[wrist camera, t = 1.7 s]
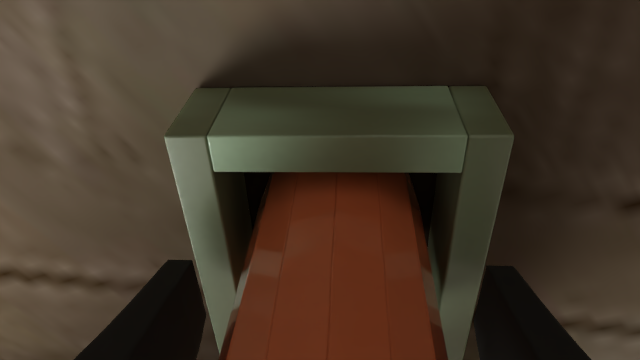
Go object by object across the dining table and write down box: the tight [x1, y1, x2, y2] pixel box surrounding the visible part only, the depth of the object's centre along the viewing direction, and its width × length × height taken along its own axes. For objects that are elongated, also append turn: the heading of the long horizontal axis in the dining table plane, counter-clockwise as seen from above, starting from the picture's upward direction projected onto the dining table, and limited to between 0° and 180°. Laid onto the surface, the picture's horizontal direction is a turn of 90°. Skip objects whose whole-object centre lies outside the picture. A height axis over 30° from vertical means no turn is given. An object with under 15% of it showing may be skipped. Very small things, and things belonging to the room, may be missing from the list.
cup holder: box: [164, 86, 514, 360], centre depth 16 cm, size 8×15×3 cm, turn 2°
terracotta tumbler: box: [218, 172, 448, 360], centre depth 11 cm, size 5×5×9 cm
